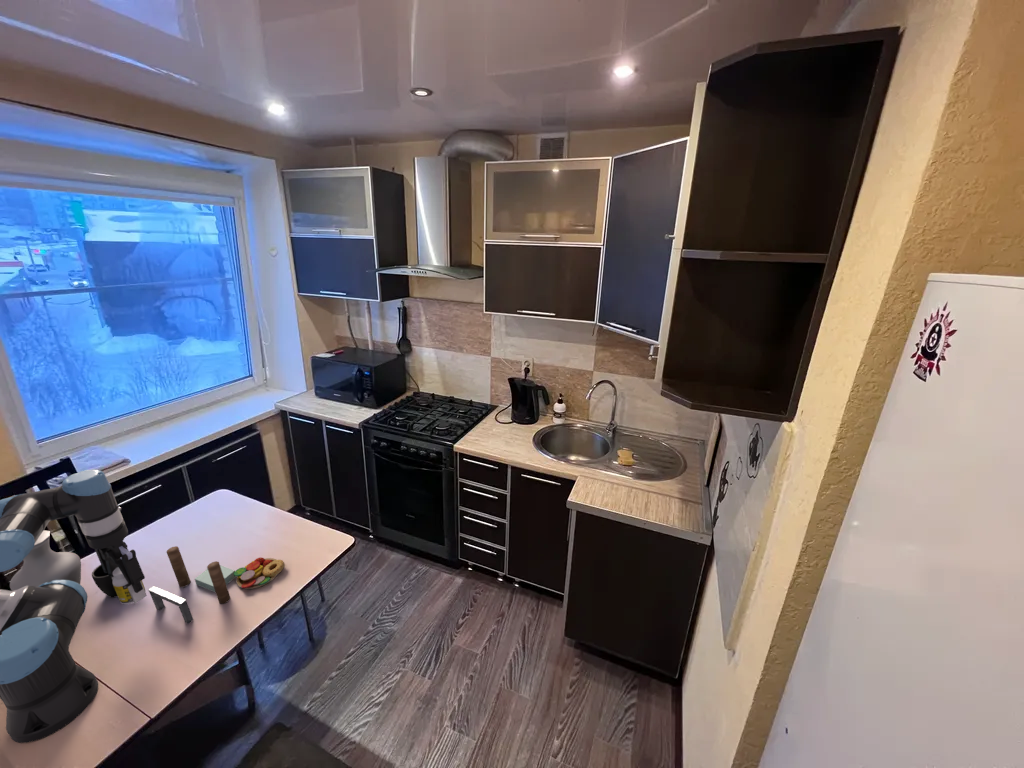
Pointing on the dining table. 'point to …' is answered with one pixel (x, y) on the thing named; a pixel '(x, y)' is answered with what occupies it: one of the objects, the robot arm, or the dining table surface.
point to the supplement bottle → (122, 587)
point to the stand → (206, 581)
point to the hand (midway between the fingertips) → (133, 595)
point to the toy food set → (258, 572)
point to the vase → (46, 565)
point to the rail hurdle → (160, 594)
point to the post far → (178, 566)
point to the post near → (218, 582)
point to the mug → (104, 581)
